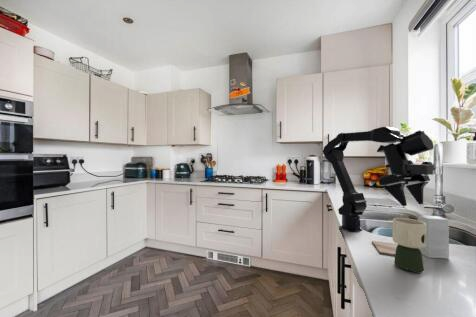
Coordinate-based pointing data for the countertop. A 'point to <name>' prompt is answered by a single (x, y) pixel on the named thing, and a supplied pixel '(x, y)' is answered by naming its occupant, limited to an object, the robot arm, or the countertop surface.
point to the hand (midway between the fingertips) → (413, 205)
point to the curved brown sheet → (385, 248)
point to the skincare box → (436, 237)
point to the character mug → (409, 243)
